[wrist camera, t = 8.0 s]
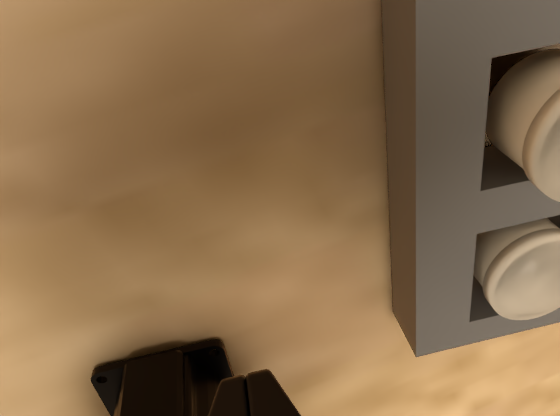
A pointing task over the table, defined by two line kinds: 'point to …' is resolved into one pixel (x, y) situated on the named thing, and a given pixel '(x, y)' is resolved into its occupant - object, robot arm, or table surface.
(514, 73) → the middle button
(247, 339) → the table surface
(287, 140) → the table surface
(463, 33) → the button panel
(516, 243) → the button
